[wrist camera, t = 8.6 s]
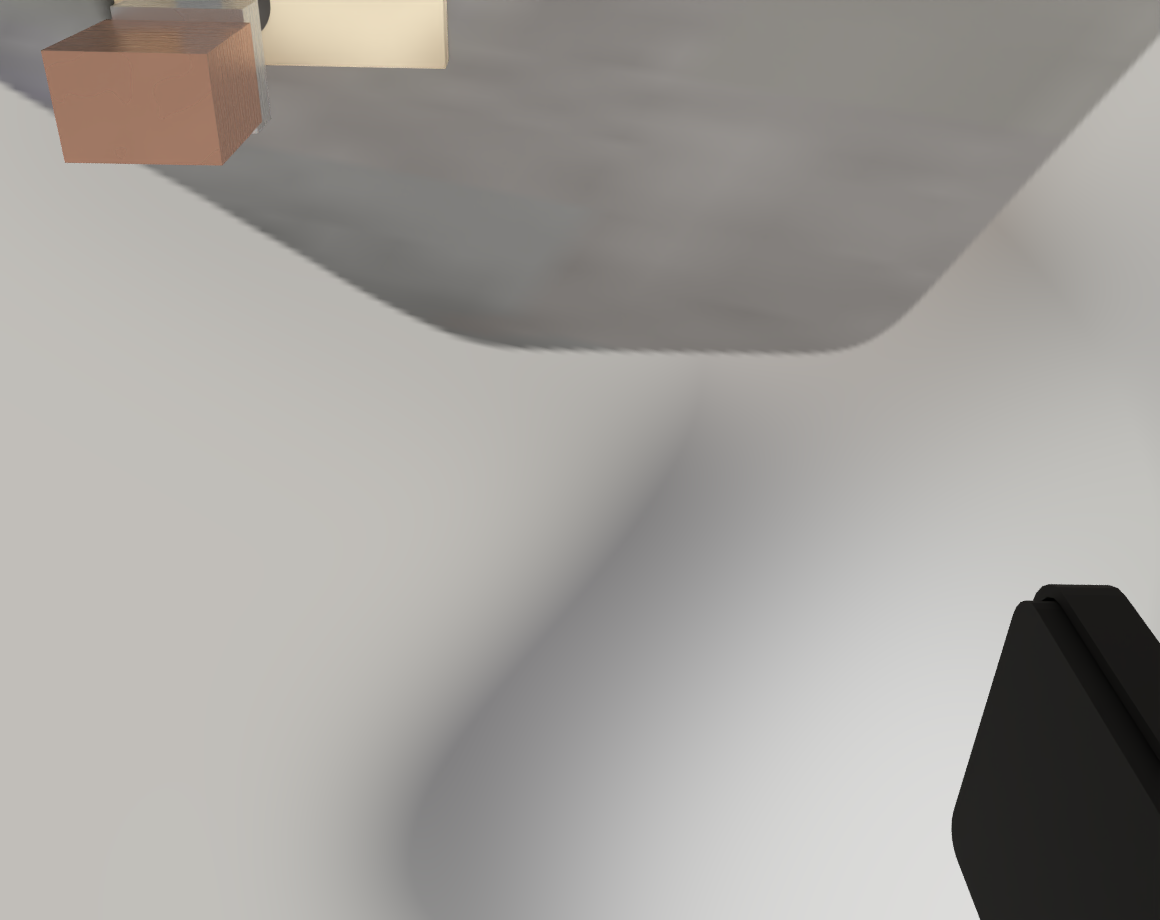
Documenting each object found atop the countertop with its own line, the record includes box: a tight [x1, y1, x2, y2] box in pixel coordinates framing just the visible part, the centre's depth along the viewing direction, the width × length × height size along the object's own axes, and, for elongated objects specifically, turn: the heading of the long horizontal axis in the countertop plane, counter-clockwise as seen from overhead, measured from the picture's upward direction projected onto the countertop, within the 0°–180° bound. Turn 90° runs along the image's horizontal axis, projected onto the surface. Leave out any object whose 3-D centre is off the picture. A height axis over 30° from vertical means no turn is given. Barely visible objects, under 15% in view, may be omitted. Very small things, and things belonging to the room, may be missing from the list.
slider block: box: [41, 0, 271, 165], centre depth 30 cm, size 3×4×14 cm
